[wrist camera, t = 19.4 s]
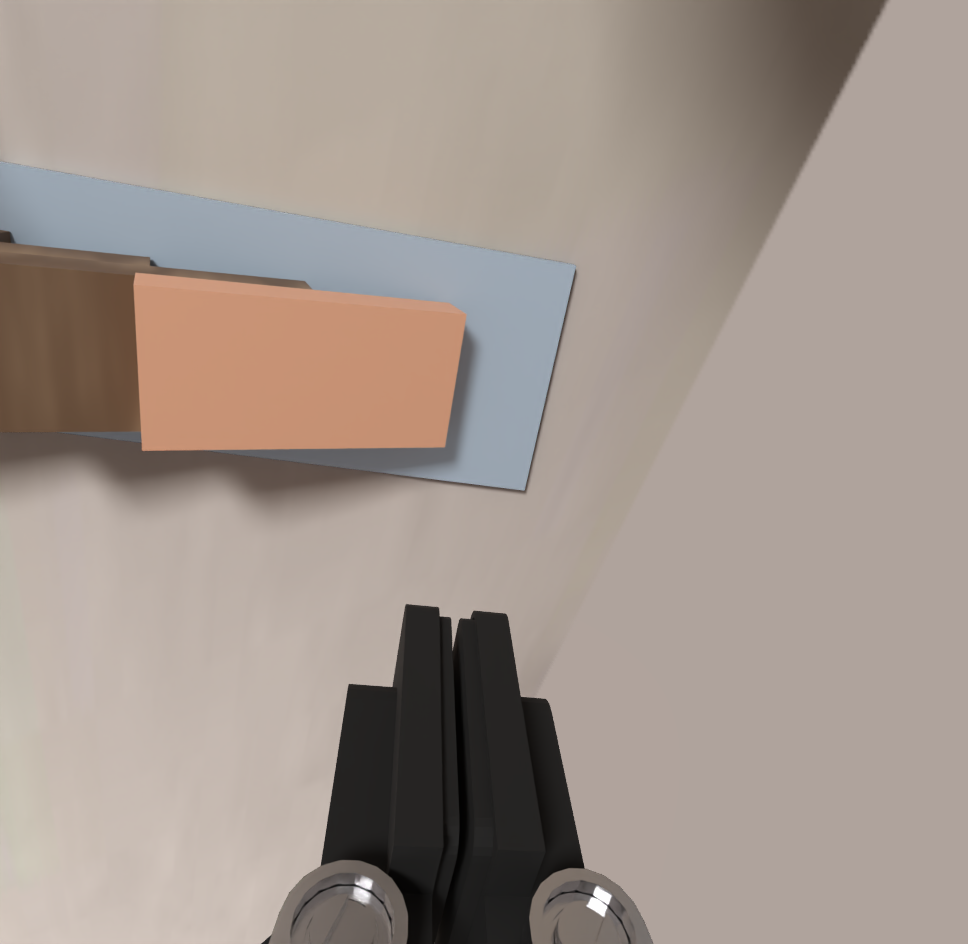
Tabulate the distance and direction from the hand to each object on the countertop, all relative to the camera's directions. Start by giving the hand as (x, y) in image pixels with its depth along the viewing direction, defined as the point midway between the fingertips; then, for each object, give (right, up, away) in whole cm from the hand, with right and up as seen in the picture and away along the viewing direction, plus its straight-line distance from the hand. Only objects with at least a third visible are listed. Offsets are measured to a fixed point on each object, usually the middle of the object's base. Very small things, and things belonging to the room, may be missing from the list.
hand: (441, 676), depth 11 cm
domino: (-7, +8, +17) cm, 20 cm away
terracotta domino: (-1, +8, +18) cm, 19 cm away
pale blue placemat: (-9, +9, +18) cm, 22 cm away
